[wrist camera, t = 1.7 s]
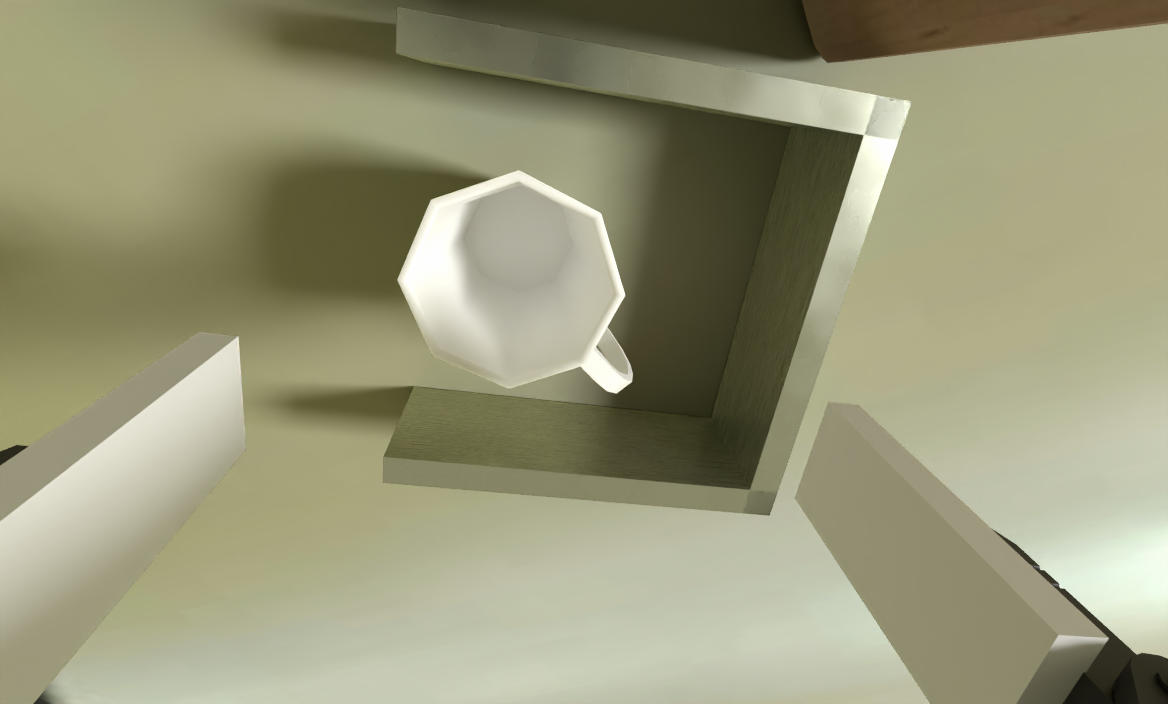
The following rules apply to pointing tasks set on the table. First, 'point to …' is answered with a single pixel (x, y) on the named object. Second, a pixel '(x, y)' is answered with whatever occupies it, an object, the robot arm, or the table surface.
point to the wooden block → (961, 23)
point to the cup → (516, 284)
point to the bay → (767, 318)
